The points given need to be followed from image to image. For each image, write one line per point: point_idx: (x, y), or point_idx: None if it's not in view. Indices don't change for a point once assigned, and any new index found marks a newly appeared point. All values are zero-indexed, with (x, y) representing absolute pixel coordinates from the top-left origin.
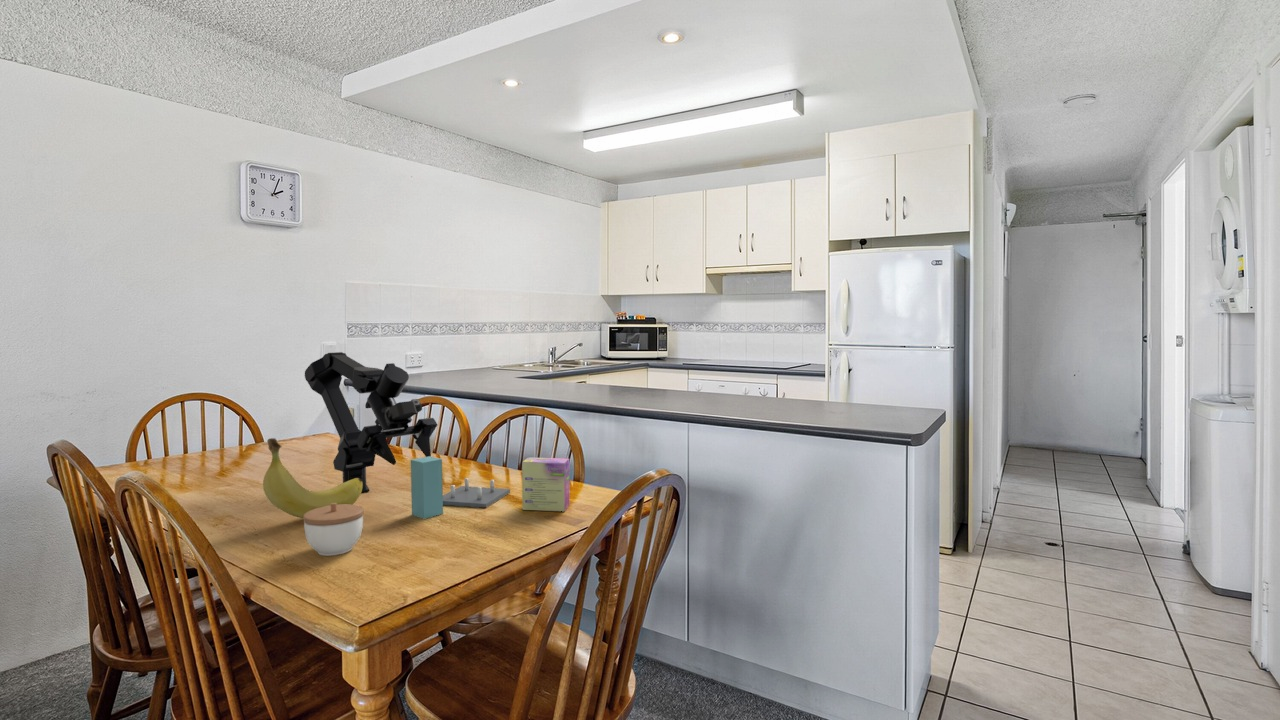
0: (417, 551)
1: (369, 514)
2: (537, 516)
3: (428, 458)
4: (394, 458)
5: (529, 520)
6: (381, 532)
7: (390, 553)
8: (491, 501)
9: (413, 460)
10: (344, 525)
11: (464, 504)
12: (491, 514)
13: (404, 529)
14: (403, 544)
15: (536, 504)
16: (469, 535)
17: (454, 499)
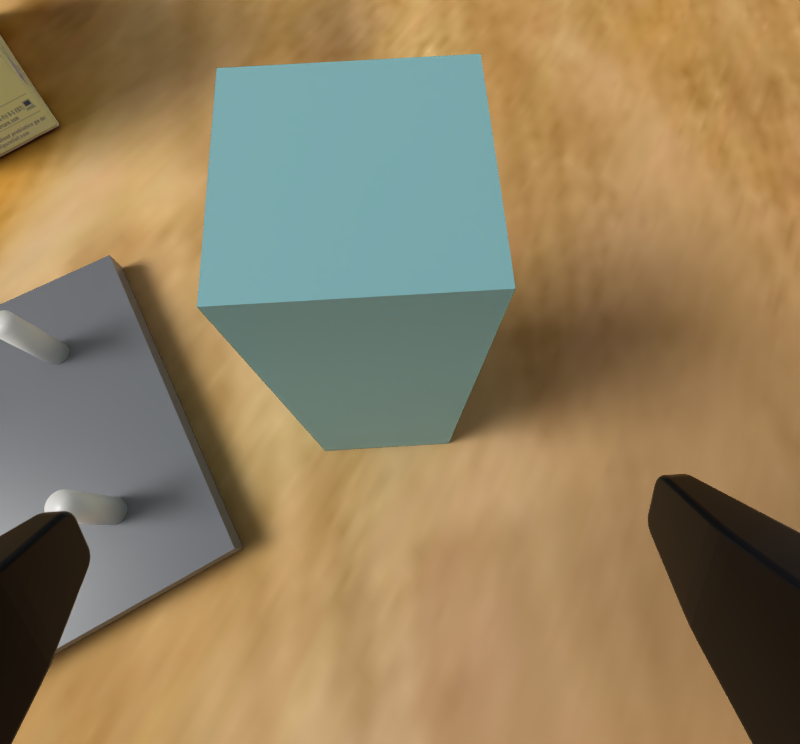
0: (641, 30)
1: (637, 659)
2: (94, 41)
3: (300, 194)
4: (704, 507)
5: (153, 27)
6: (683, 294)
7: (727, 69)
8: (48, 286)
9: (505, 226)
10: None
11: (160, 363)
12: (183, 175)
13: (581, 259)
14: (656, 112)
15: (13, 60)
16: (419, 40)
17: (142, 460)
